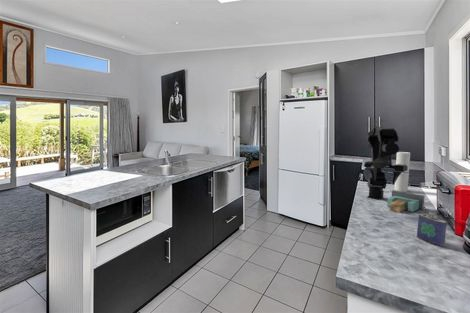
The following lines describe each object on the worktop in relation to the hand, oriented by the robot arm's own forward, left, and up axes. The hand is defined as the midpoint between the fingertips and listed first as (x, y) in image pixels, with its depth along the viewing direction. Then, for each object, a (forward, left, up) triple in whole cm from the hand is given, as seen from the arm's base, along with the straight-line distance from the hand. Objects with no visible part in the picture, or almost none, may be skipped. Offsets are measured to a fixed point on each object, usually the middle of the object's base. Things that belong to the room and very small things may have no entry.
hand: (383, 182), depth 127 cm
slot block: (+8, +4, -12) cm, 15 cm away
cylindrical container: (-7, +42, -13) cm, 44 cm away
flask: (+29, -30, -13) cm, 44 cm away
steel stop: (+8, +9, -12) cm, 17 cm away
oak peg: (+8, 0, -13) cm, 15 cm away
